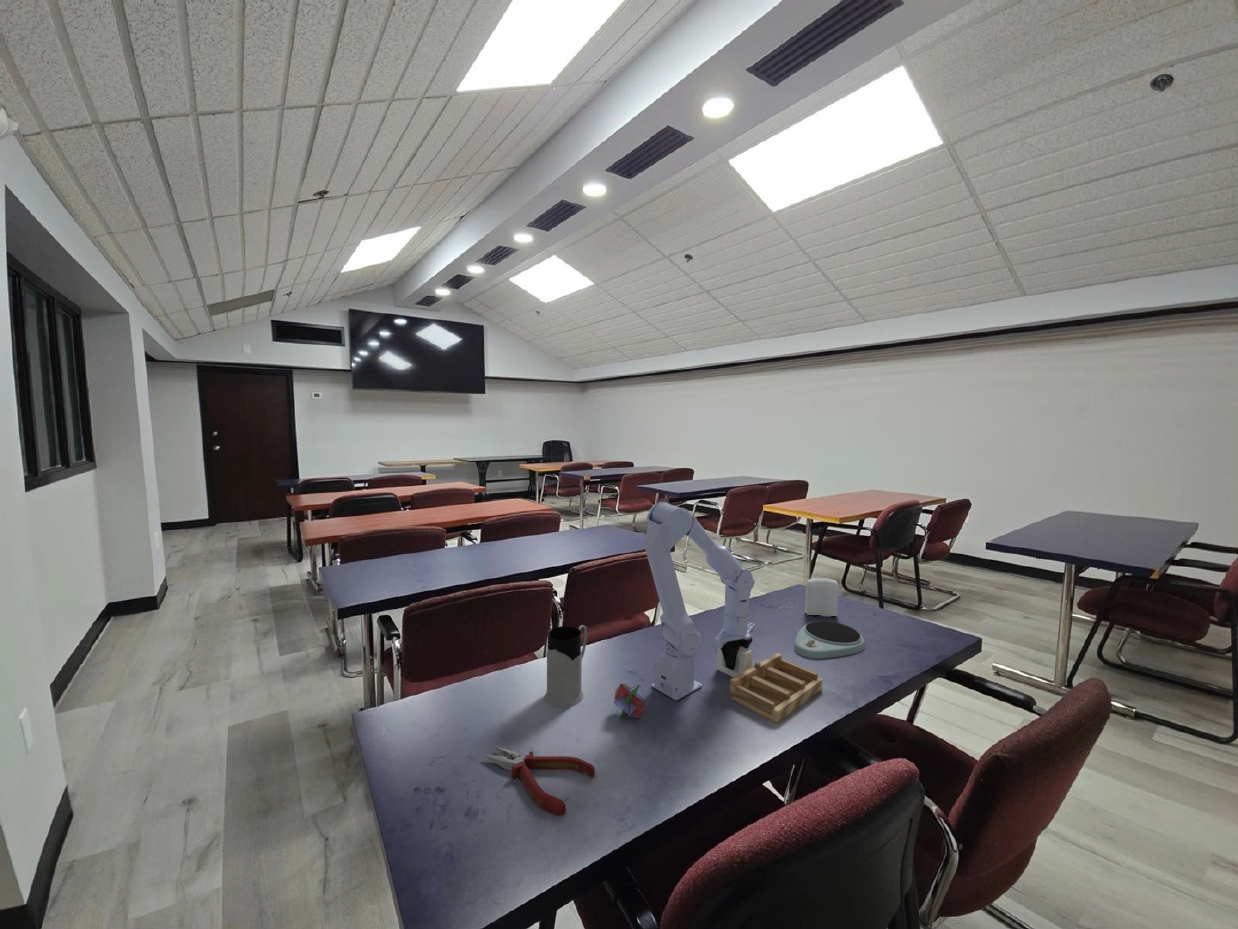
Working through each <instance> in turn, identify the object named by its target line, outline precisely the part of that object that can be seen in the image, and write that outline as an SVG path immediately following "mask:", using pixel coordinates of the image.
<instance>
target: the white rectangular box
mask: <svg viewBox="0 0 1238 929" xmlns="http://www.w3.org/2000/svg"><path fill="white" fill-rule="evenodd" d="M752 658H753V651H752V650H751V649H749V648H748V649H747V648H744V647H742V646H741V647H740V648H739V650H738V653H737V657H736V664H735V668H734V670H730V669H728V668H726V665H725V660H724V656H723V653H722V651H721V648H719V647H717V658H716V659H717V664H716V665H717V666H716V670H718V671H720V672H722V673H724V674H726V675H727V676H730V677H732V678H734V677H736V676H737V675H739V674H741V673H743V672H745V671H746V670H748V669H750V668H752Z"/></svg>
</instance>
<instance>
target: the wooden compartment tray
mask: <svg viewBox="0 0 1238 929" xmlns="http://www.w3.org/2000/svg"><path fill="white" fill-rule="evenodd" d="M818 676H819V673H818V672H815V671H813V670H811V669H808V668H806V667H803V666H800V665H798V664H796V663H794V662H791V661H788V660H786V659H784V658H782V654H781V653H778V652H776V653H775V654H773V655H771V656H770V657H767V658H766V659H764V660H762V661H761V662H758V661H756V662H754V666H751V668H750V669H748V670H746V671H745V672H743V673H741V674H739V675H737V676H736V677H732V678H731V679H730V684H729V686H730V687H729V699H730V700H732V701H734V702H736V703H739V704H740V705H742V706H744V707H746V708H748V709H749V710H752V711H754V712H755V713H757V714H759V715H761V716H763V717H765V718H767V719H769V720H770V721H772V722H774V723H779V722H780V721H781V720H783V719H785V718H786V717H787V716H788V715H790V714H791V713H793V712H794V711H795V710H796V709H798V708H799V707H801V706H802V705H804V703H806V702H808V701H809V700H810V699H812V698H813V697H814V696H815V695H817V694H818V693H820V692H821V691H822V690H823V682H824V681H823V679H822V678H820V677H818Z"/></svg>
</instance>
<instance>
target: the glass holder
mask: <svg viewBox="0 0 1238 929" xmlns="http://www.w3.org/2000/svg"><path fill="white" fill-rule="evenodd" d="M582 629H583V631H584V636H583V644H582V631H581V630H582ZM587 641H588V628H587V626H586V625H583V624H581V625H579V626H578V628H577V627H575V626H569V625H563V626H556V627H553V628H552V629H550V630H548V632H547V651H546V692H545V694H544V701H545V702H546V703H547V704H548V705H550V706H552V707H556V708H563V709H564V708H570V707H574V706H576V705H578V704H580V703H581V702H582V700H583V698H584V693H583V691H582V690H583V689H582V671H583V670H582V664H583V662H582V661H583V658H584V655H585V651H586V648H587V646H586V645H587Z"/></svg>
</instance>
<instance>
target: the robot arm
mask: <svg viewBox="0 0 1238 929" xmlns="http://www.w3.org/2000/svg"><path fill="white" fill-rule="evenodd" d="M646 521H647V529H646V534H645V540H644V549H645V553H646V557H647V560H648V563H649V564H648V565H649V568H650V571H651V576H652V578H653V581H654V586H655V589H656V594H657V597H658V600H659V604H660V608H661V611H662V614H661V615H660V616H659V619H660V628H659V632H660V636H661V637H662V640H664V650H663V652H662V654H660V656H658V657H657V658H656V659H655V661H654V680H653V683H652V684H651V687H652V688H654V689H655V690H657V691H659V692H660V693H662V694H664V695H666V696H668V697H669V698H671V699H672V700H674V701H678V700H680V699H681V698H684V697H685V696H688V695H689V694H690V693H693V692H694V691H696V690H698V689H700V688H702V687H703V684H702V683H700V682H699V681H696V680H695V674H696V673H695V671H696V670H695V669H696V668H695V667H696V655H697V652H699V650H700V649H701V646H702V642H703V641H702V640H703V639H702V635H701V633H700V632H699V631H698V630H697V629H696V626H695V624H694V622H693V620H692V618H691V617H690V616H689V614H688V612H687V610H686V606H685V602H684V599H683V595H682V591H681V587H680V585H679V584H680V583H679V580H678V577H677V573H676V570H675V569H676V568H675V565H674V562H673V559H672V554H671V550H672V548H673V547H675V546H676V544H678V543H679V542H680V541H681V540H682V539H683V538H684V537H685V536H686V537H688V538H689V539H691V541H693V542H694V544H695V545H697V547H698V548H699V549H701V550H702V551H703V552H704V554H706V556H705V560H706V563H707V564H708V565H709V566H710V567H711V568H712V569H713V570H714V571H715V573H717V575H718V576H719V578H720V581H721V583H722V584H724V585H725V586H724V587H725V588H724V610H723V611H724V612H723V613H724V614H723V616H724V617H723V628H722V629H721V631H720V632H719V634H718V635H717V636H715V637H714V638H713V644H714V645H713V646H714V647H717V648H718V647H719V648H721V651H722V653H723V656H724V660H725V665H726V668H728V669H730V670H734V668H735V664H736V657H737V653H738V650H739V648H740V647H741V646H742V647H744V648H747V649H749V647H750V645H751V644H752V642H753V637H752V636H751V634H750V633H755V631H756V624H755V623H752V622H749V621H748V620H749V603H750V602H749V600H750V597H751V591H752V590H753V589H754V585H755V584H756V581H755V579H754V577H753V574H752V572H751V571H750V570H748V569H747V568H744V567H743V562H742V561H741V560H738V559H737V558H736V557H735V556H734V555H733V554H732V549H731V548H730V547H729V546H725V545H723V544H719V545H717V543H716V542H715V541H714V540H713V538H712V537H711V536H710V535H709V533H708V532H707V531H706V529H705V528H704V527H703V526H702V525H701V524H700V522H699V521H698V519H697V517H695V516H694V515H693V514H692V513H691V512H690V511H689V510H688V509H686V508H685V507H679V506H675V505H673V504H670V503H668V502H666V501H659V502H658V503H657V502H656V504H654V505H653V507H652V508H651V510H650V511H649V512H648V514H647V515H646Z"/></svg>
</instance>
